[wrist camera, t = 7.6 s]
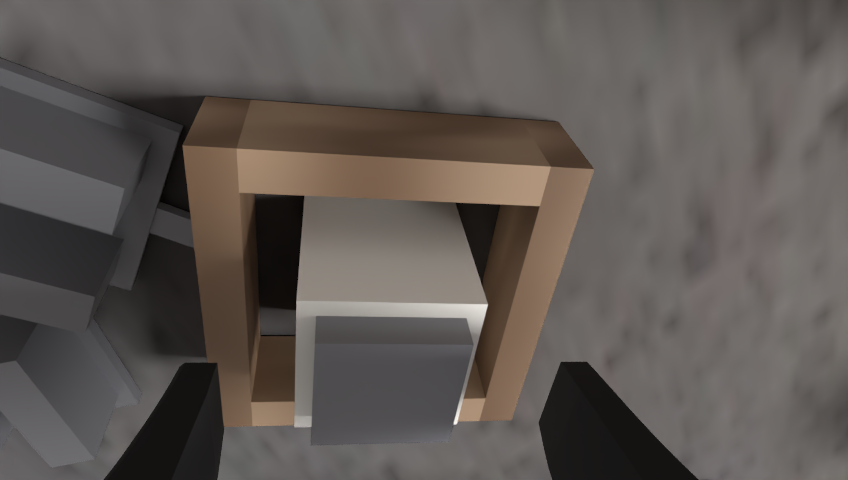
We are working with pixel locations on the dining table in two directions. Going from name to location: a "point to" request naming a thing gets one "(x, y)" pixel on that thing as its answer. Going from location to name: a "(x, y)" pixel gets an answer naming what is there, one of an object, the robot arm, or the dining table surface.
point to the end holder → (376, 179)
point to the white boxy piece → (384, 320)
